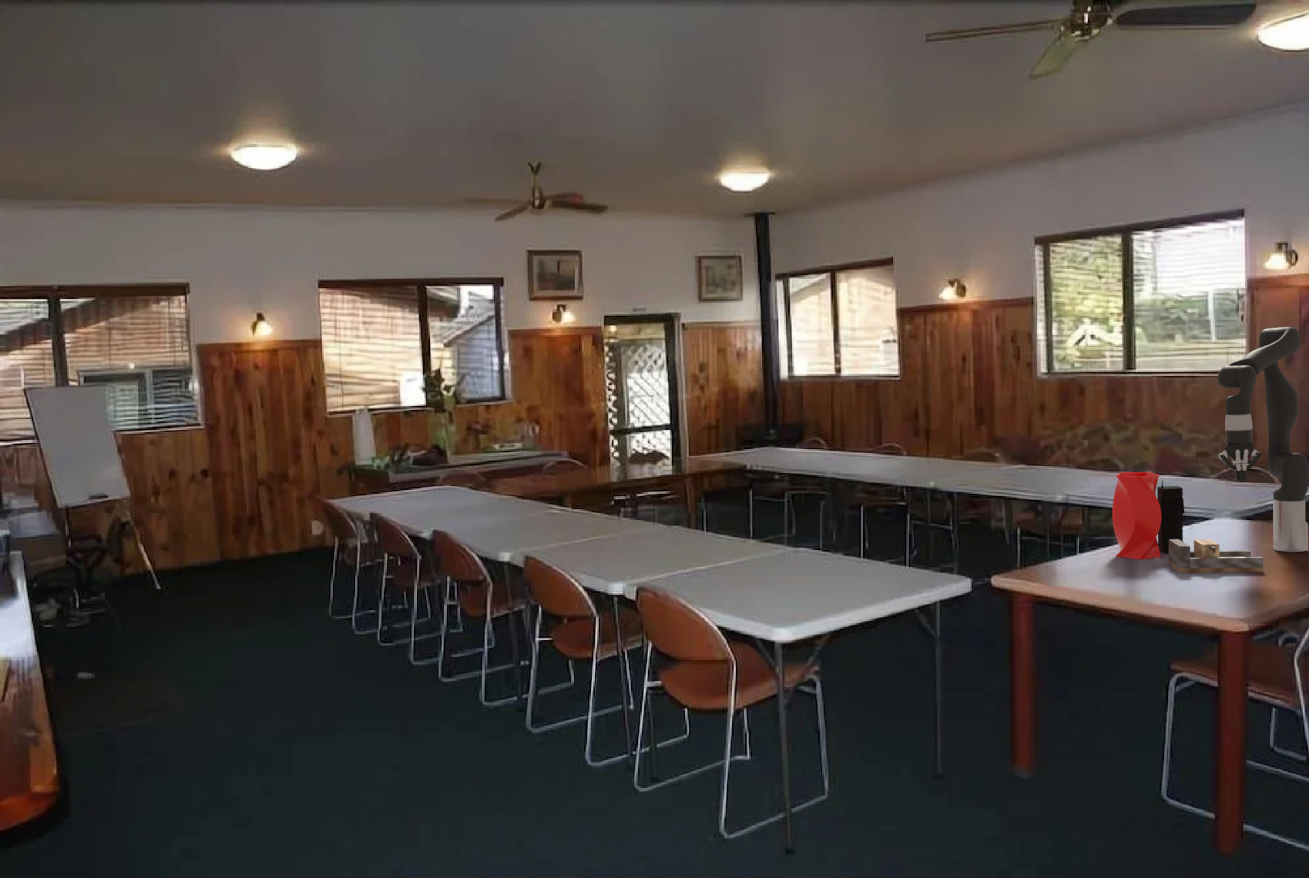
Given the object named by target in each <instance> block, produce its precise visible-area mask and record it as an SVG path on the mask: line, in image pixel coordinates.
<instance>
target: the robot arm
mask: <svg viewBox="0 0 1309 878" xmlns="http://www.w3.org/2000/svg"><path fill="white" fill-rule="evenodd" d="M1258 342H1259V344H1258V346H1259V348H1256V349H1254V350H1252V351H1250V352H1248V353H1247V354H1245V355H1244V356H1243V357H1242V358H1240V359H1238V360H1236V361H1235V360H1234V361H1232V362H1231V363H1228V364H1225V366H1223V367H1221V369H1220V370H1219V372H1218V375H1217V381H1218V383H1219V384H1220V386H1221V387H1223V388H1227V389H1240V390H1239V391H1238V394H1233V395H1229V396H1226V398H1225V403H1224V404H1225V420H1224V424H1225V427H1224V428H1225V446H1224V451H1222V452H1221V453H1218V454H1217V457H1218V459H1220V461H1222V463H1223V464H1224V465H1225V466H1226V467H1227V468H1228V469H1229V470H1233V471H1234V480H1235V481H1237V483H1244V482H1245V481H1246V480H1247V470H1248V469H1253V467H1254V466H1255V464H1256V463H1258V462H1257V461H1259V459H1260V458H1261V457H1262V456H1263V453H1262V452H1260V451H1258V450H1257V449H1255V448H1256V447H1255V446H1254V443H1253V441H1254V439H1253V436H1254V435H1253V426H1254V425H1253V420H1252V419H1253V418H1252V405H1251V403H1252V396H1253V391H1254V389H1255V386H1256V381H1257V376H1259V374H1260V373H1262V372H1263V377H1264V378H1263V379H1264V388H1265V389H1264V390H1265V409H1266V417H1267V418H1266V419H1267V435H1268V445H1267V447H1268V450H1267V467H1268V471H1269V473H1270V474H1271V475H1272V476H1273V477H1274V478H1277V479H1281V485H1280V487H1279V488H1278V489H1275V490H1274V491H1273V493H1272V496H1273V497H1272V498H1273V499H1272V500H1273V501H1272V502H1273V505H1272V506H1273V507H1272V508H1273V509H1272V511H1273V512H1272V513H1273V514H1272V515H1273V517H1272V519H1273V520H1272V521H1273V522H1272V523H1273V525H1272V528H1273V535H1272V536H1273V539H1272V541H1273V543H1272V544H1273V550H1275V551H1278V552H1286V553H1301V552H1308V551H1309V545H1308V544H1309V542H1308V541H1309V538H1308V537H1309V533H1308V532H1309V531H1308V529H1309V523H1308V522H1306V494H1307V492H1308V490H1309V462H1308V459H1307V457H1306V456H1305V455H1303V454H1302V453H1298V452H1292V451H1291V432H1292V430H1293V428H1294V425H1295V423H1296V422H1297V418H1298V415H1299V398H1298V392H1297V390H1296V389H1295V387H1294V385H1292V383H1291V382H1290V380H1288V378H1287V377H1286V376H1285V374H1284V373H1283V372H1282V370H1281V368H1280V365H1279V361H1280V360H1282V359H1284V358H1286V357H1289V356H1291V355H1293V354H1295V353H1296V352H1297V351H1298V350H1299V349H1300V347H1301V342H1302V338H1301V334H1300V331H1299V330H1298V329H1296V328H1295V327H1292V326H1285V327H1272V328H1265V329H1263V330H1261V332H1260V334H1259V338H1258ZM1250 456H1251V457H1250ZM1228 457H1230V459H1231V460H1232V461H1231V460H1230V459H1228Z"/></svg>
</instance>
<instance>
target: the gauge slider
mask: <svg viewBox="0 0 1309 878" xmlns="http://www.w3.org/2000/svg"><path fill="white" fill-rule="evenodd" d="M1193 551H1194V558H1199V557H1219V551H1220V543H1218V542H1216V541H1215V540H1213V539H1193Z"/></svg>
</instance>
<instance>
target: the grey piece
mask: <svg viewBox="0 0 1309 878" xmlns="http://www.w3.org/2000/svg"><path fill="white" fill-rule="evenodd" d="M1251 553H1252V552H1251V550H1246V549H1245V550H1241V549H1240V550H1219V557H1199V558H1194V550H1191V545H1188V544H1187V543H1186V542H1184V541H1183V542H1182V541H1181V540H1179V539H1169V553H1168V566H1169V567H1171V568H1172V569H1174V570H1175V571H1176V572H1178V573H1180V574H1199V573H1200V574H1201V573H1204V574H1207V573H1208V574H1209V573H1210V574H1211V573H1213V574H1214V573H1218V574H1219V573H1222V574H1223V573H1264V557H1263V556H1252V555H1251Z"/></svg>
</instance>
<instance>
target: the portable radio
mask: <svg viewBox="0 0 1309 878" xmlns="http://www.w3.org/2000/svg"><path fill="white" fill-rule="evenodd" d="M1156 491H1157V499H1158V502H1159V505H1160V509H1161V524H1160V529H1159V532H1158V534H1157V542H1158V547H1159V552H1160V553H1163V554H1169V539H1179V540H1181V541H1182V542H1184V534H1183V533H1184V532H1183V531H1184V527H1183V525H1184V524H1183V520H1184V518H1183V517H1184V514H1186V513H1185V504H1184V497H1183V496H1184V493H1183V487H1181V486H1179V485H1171V486H1170V485H1169V486H1167V485H1166V486H1164V480H1161V486H1157V487H1156Z"/></svg>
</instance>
